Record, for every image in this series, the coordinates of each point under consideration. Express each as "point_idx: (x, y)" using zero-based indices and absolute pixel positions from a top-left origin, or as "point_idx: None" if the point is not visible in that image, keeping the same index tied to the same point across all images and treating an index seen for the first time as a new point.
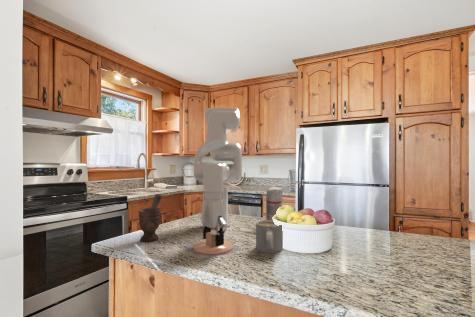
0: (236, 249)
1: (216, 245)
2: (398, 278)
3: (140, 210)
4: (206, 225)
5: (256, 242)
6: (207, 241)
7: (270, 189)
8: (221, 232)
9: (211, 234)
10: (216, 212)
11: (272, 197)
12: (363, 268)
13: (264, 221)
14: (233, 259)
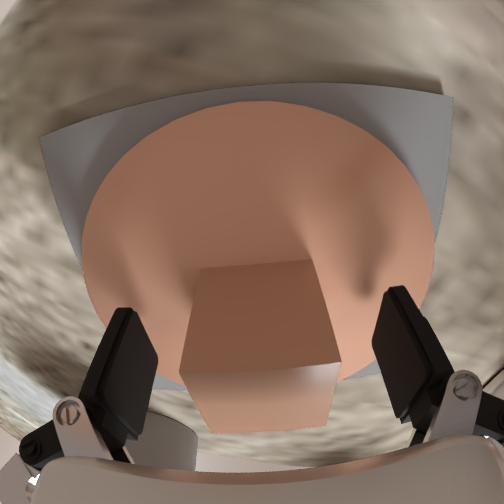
0: (158, 374)
1: (119, 310)
2: (6, 421)
3: None
4: (260, 494)
5: (141, 441)
6: (279, 289)
7: None
8: (48, 430)
9: (210, 384)
10: None
11: None
12: (30, 429)
13: None
14: (47, 303)
